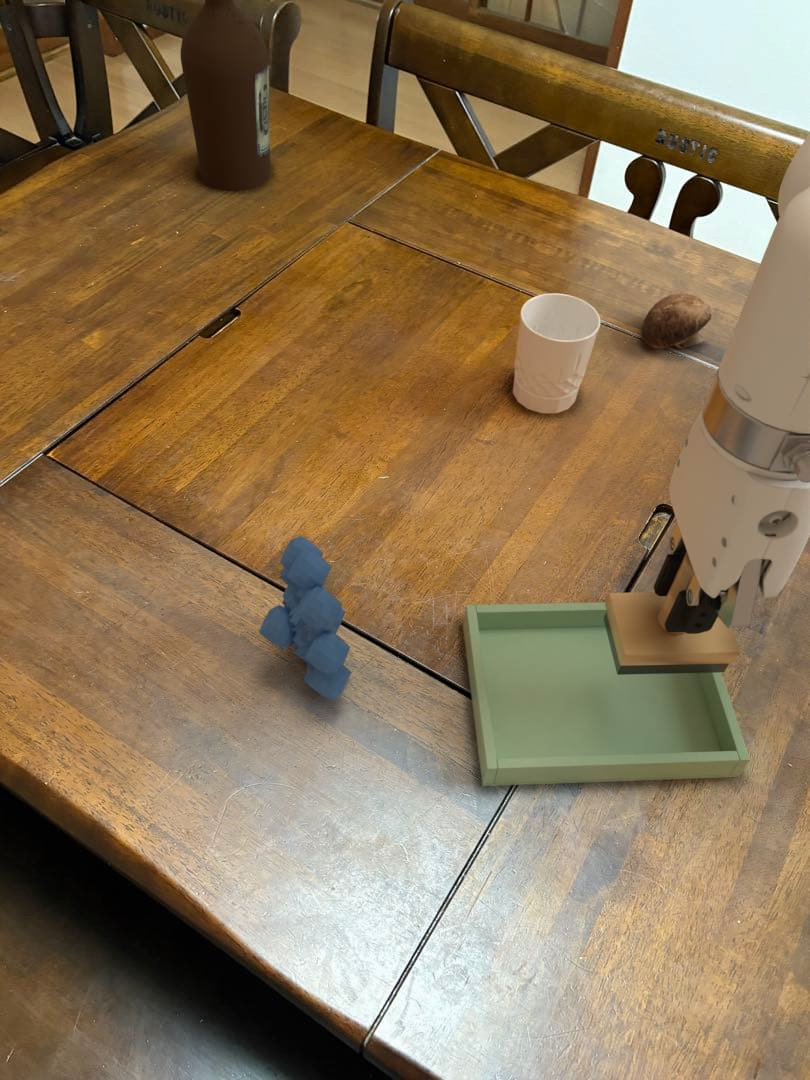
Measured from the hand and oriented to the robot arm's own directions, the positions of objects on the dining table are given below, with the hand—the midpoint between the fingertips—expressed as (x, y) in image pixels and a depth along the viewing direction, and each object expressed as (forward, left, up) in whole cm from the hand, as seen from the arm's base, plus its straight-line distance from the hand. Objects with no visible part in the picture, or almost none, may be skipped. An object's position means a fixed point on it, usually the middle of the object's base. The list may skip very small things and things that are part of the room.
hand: (681, 608), depth 64 cm
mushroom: (-14, -46, -12) cm, 50 cm away
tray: (+4, 0, -12) cm, 13 cm away
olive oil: (+37, -82, -12) cm, 91 cm away
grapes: (+27, -4, -12) cm, 30 cm away
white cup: (+2, -37, -12) cm, 39 cm away
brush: (0, 0, -5) cm, 5 cm away
